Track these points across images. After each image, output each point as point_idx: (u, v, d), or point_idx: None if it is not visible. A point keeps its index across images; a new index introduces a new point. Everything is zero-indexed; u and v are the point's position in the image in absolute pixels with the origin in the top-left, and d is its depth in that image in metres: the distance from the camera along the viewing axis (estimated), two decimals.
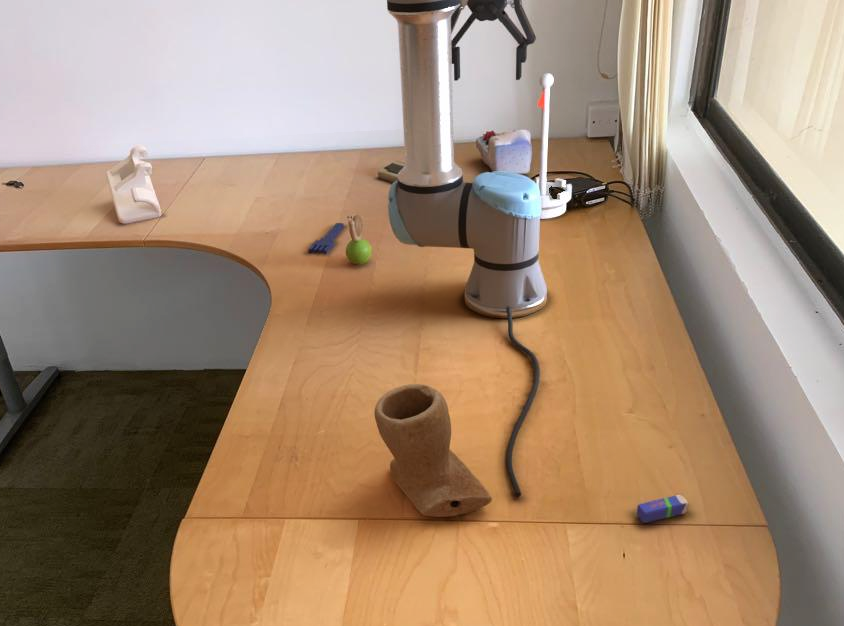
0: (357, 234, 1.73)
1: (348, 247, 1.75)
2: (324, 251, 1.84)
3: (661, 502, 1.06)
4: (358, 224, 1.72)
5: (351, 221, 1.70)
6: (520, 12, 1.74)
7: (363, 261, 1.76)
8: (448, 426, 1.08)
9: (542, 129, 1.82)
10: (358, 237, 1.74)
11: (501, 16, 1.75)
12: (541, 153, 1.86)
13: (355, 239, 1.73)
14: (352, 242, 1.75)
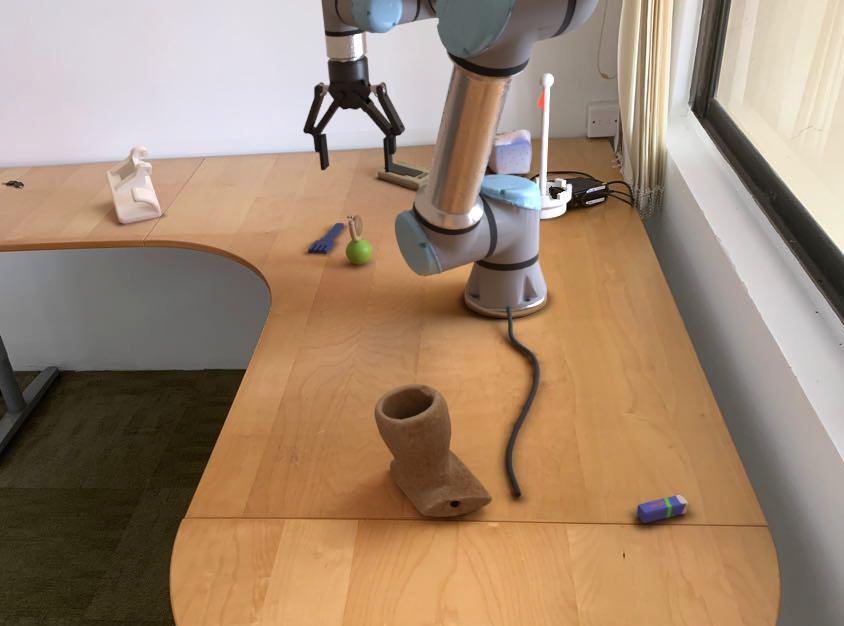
0: (357, 234, 1.73)
1: (348, 247, 1.75)
2: (324, 251, 1.84)
3: (661, 502, 1.06)
4: (358, 224, 1.72)
5: (351, 221, 1.70)
6: (384, 102, 1.57)
7: (363, 261, 1.76)
8: (448, 426, 1.08)
9: (542, 129, 1.82)
10: (358, 237, 1.74)
11: (364, 105, 1.58)
12: (541, 153, 1.86)
13: (355, 239, 1.73)
14: (352, 242, 1.75)
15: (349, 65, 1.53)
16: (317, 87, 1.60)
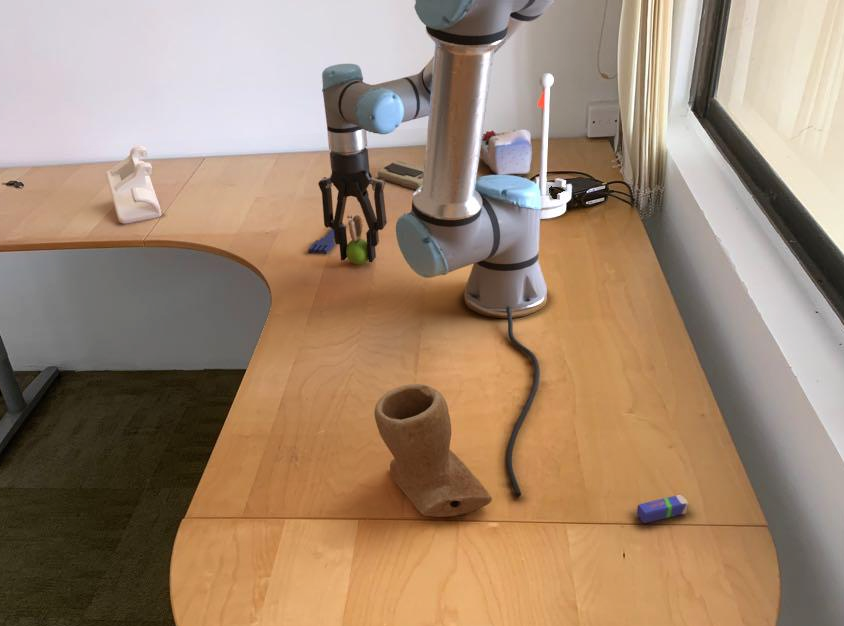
0: (357, 234, 1.73)
1: (348, 247, 1.75)
2: (324, 251, 1.84)
3: (661, 502, 1.06)
4: (358, 224, 1.72)
5: (351, 221, 1.70)
6: (378, 198, 1.67)
7: (363, 261, 1.76)
8: (448, 426, 1.08)
9: (542, 129, 1.82)
10: (358, 237, 1.74)
11: (360, 197, 1.67)
12: (541, 153, 1.86)
13: (355, 239, 1.73)
14: (352, 242, 1.75)
15: (350, 158, 1.61)
16: (320, 182, 1.69)
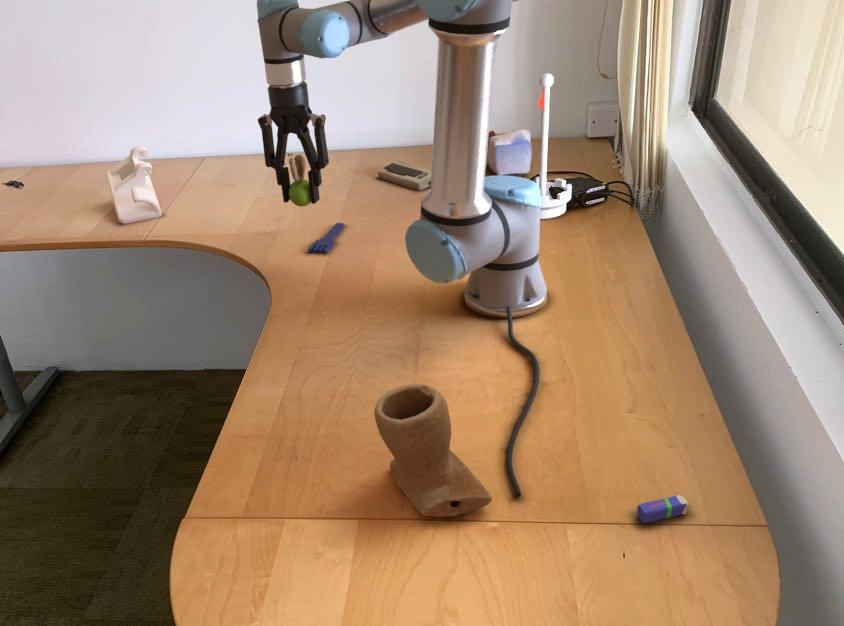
0: (299, 174, 1.68)
1: (290, 188, 1.70)
2: (324, 251, 1.84)
3: (661, 502, 1.06)
4: (300, 163, 1.68)
5: (292, 159, 1.65)
6: (319, 134, 1.62)
7: (306, 202, 1.71)
8: (448, 426, 1.08)
9: (542, 129, 1.82)
10: (300, 177, 1.69)
11: (300, 133, 1.62)
12: (541, 153, 1.86)
13: (297, 179, 1.68)
14: (295, 182, 1.70)
15: (288, 91, 1.57)
16: (260, 119, 1.64)
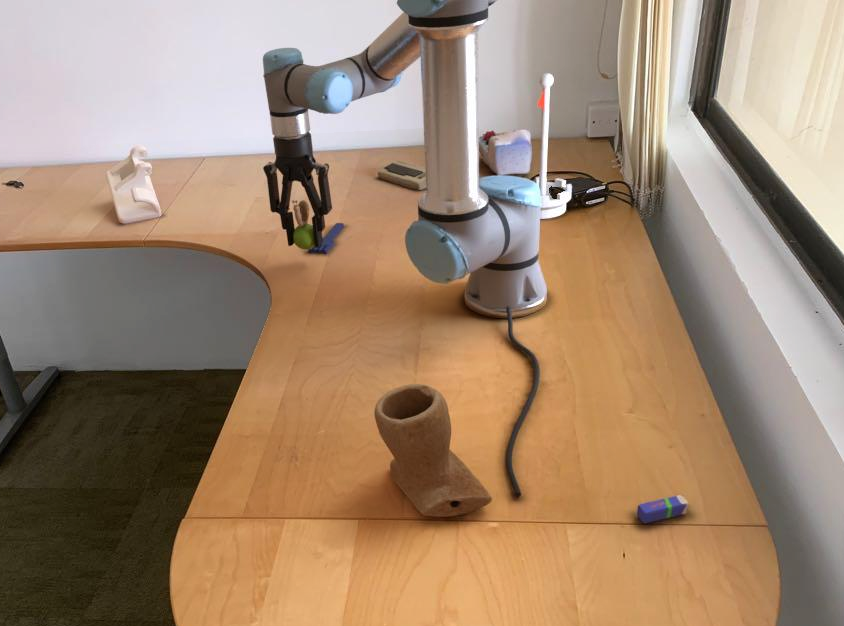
0: (303, 219, 1.74)
1: (295, 232, 1.76)
2: (324, 251, 1.84)
3: (661, 502, 1.06)
4: (304, 209, 1.73)
5: (296, 206, 1.70)
6: (322, 183, 1.67)
7: (310, 246, 1.76)
8: (448, 426, 1.08)
9: (542, 129, 1.82)
10: (304, 222, 1.74)
11: (304, 181, 1.68)
12: (541, 153, 1.86)
13: (301, 224, 1.73)
14: (299, 227, 1.75)
15: (293, 143, 1.62)
16: (265, 167, 1.69)
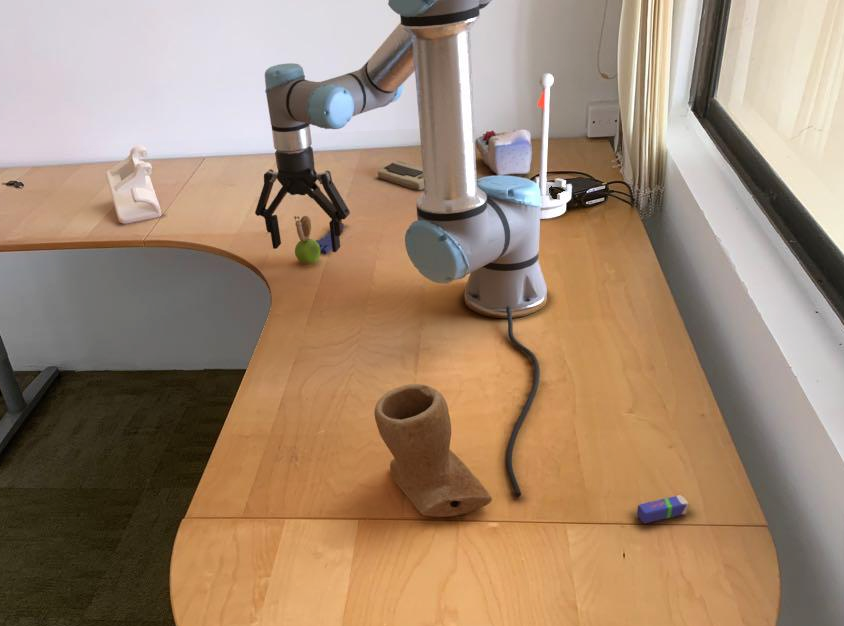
0: (305, 234, 1.76)
1: (297, 247, 1.78)
2: (324, 251, 1.84)
3: (661, 502, 1.06)
4: (306, 224, 1.75)
5: (298, 221, 1.72)
6: (329, 189, 1.67)
7: (312, 261, 1.78)
8: (448, 426, 1.08)
9: (542, 129, 1.82)
10: (306, 237, 1.76)
11: (310, 192, 1.69)
12: (541, 153, 1.86)
13: (303, 239, 1.75)
14: (301, 242, 1.77)
15: (295, 157, 1.64)
16: (266, 175, 1.70)
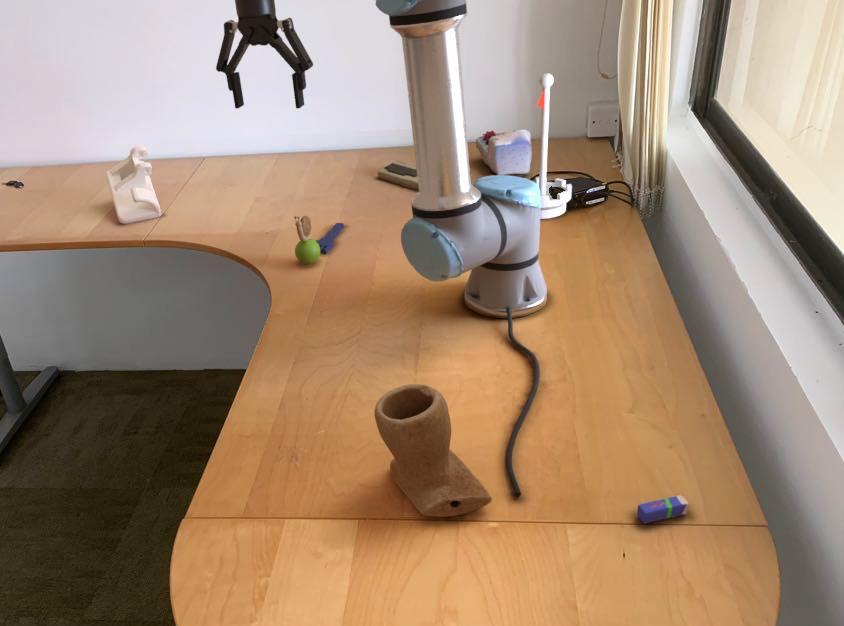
0: (305, 234, 1.76)
1: (297, 247, 1.78)
2: (324, 251, 1.84)
3: (661, 503, 1.06)
4: (306, 224, 1.75)
5: (298, 221, 1.72)
6: (290, 36, 1.61)
7: (312, 261, 1.78)
8: (448, 426, 1.08)
9: (542, 129, 1.82)
10: (306, 237, 1.76)
11: (271, 40, 1.63)
12: (541, 153, 1.86)
13: (303, 239, 1.75)
14: (301, 242, 1.77)
15: None
16: (226, 24, 1.64)
